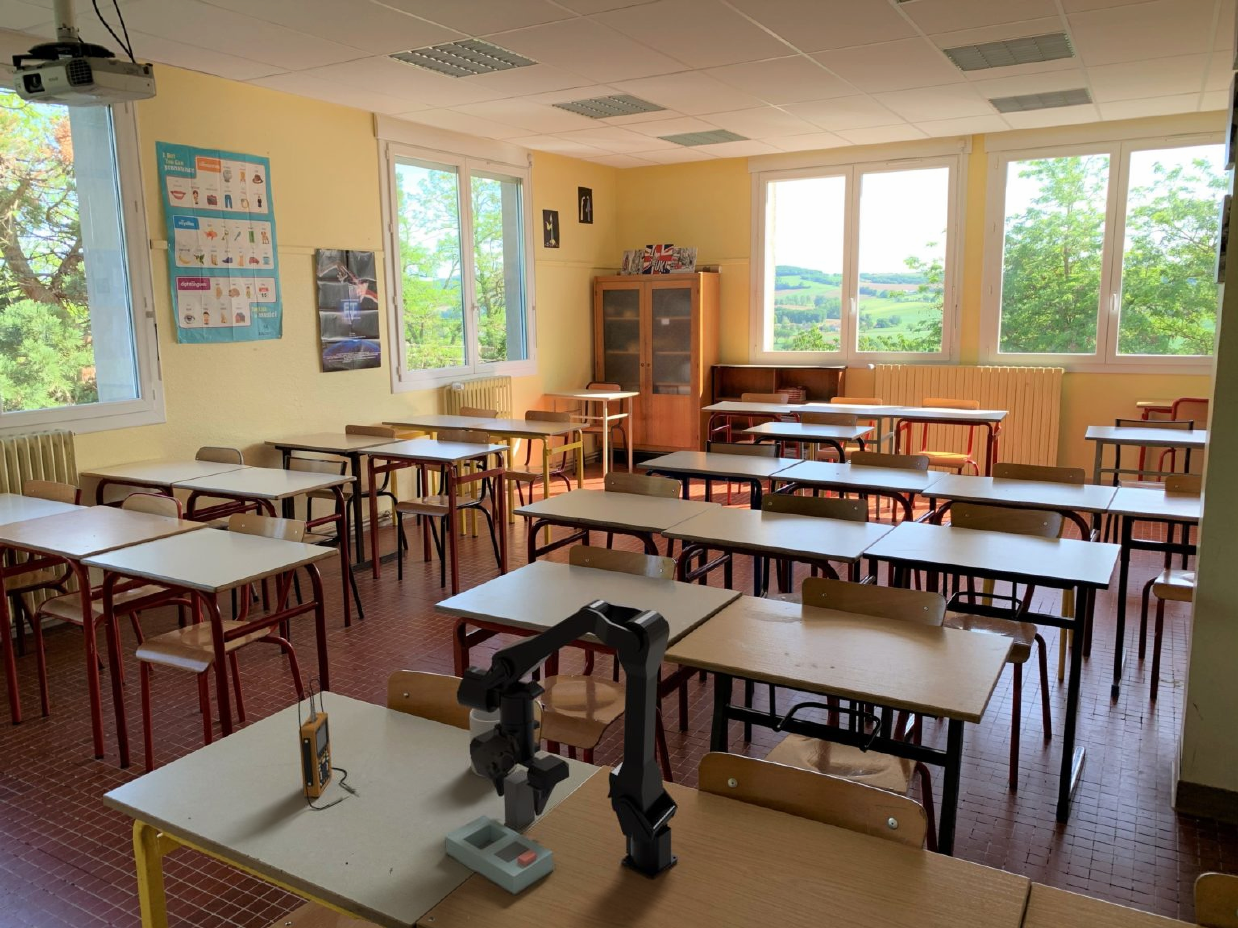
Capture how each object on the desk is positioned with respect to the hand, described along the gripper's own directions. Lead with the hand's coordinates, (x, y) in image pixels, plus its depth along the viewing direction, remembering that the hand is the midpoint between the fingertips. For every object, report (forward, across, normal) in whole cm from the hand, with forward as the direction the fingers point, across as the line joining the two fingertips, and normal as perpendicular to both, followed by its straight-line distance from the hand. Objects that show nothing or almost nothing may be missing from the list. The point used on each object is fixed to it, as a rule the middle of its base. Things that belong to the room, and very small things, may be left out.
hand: (519, 804), depth 152 cm
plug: (+3, 0, 0) cm, 3 cm away
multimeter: (+3, -33, -14) cm, 36 cm away
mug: (+3, -18, +11) cm, 21 cm away
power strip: (+3, +6, -10) cm, 12 cm away
